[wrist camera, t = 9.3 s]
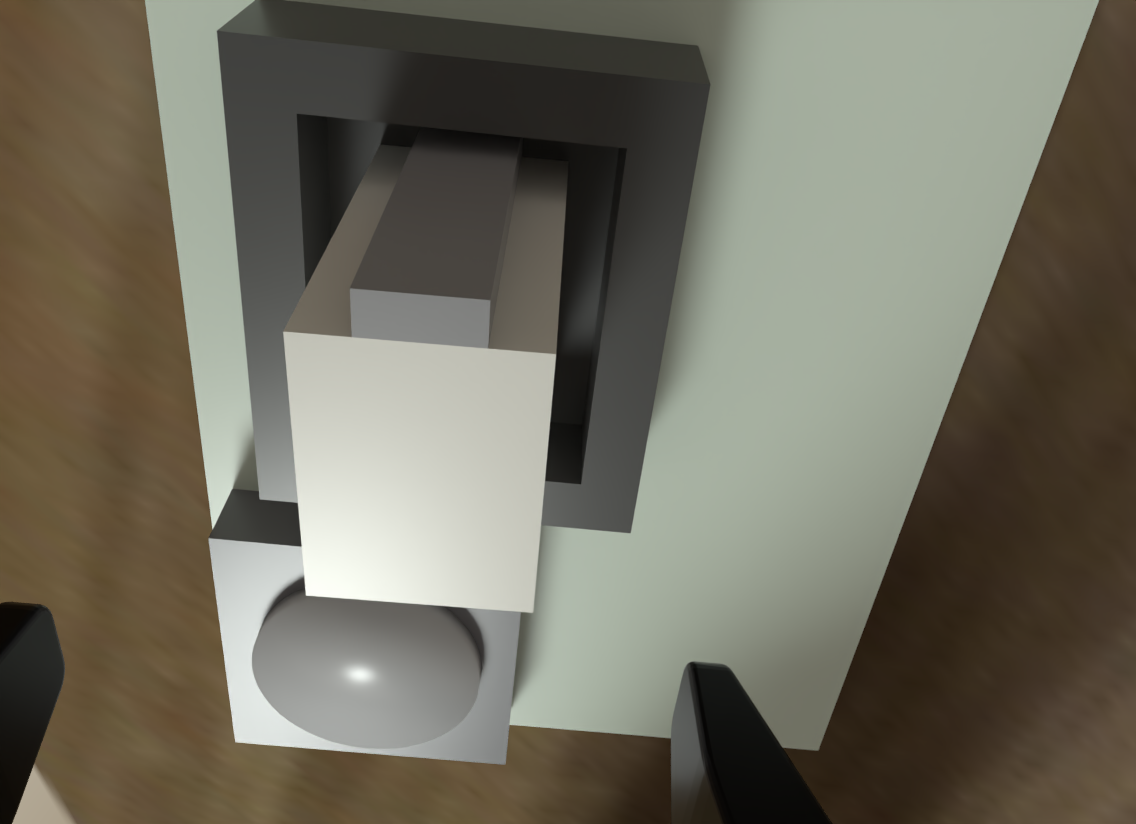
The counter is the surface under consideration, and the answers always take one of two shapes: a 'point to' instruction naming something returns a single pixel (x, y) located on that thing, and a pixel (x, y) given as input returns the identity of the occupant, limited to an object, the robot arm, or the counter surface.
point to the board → (613, 329)
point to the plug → (430, 376)
